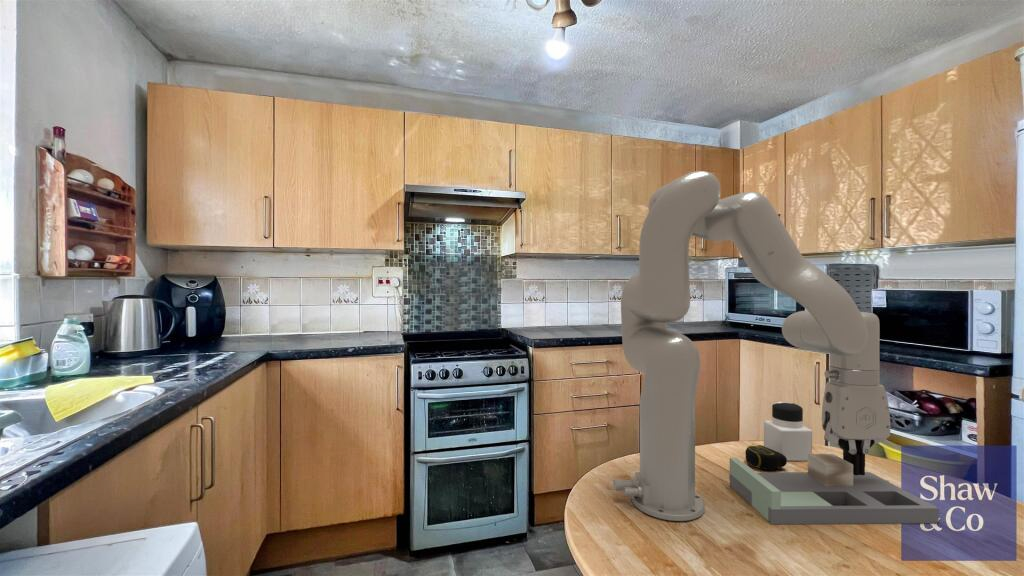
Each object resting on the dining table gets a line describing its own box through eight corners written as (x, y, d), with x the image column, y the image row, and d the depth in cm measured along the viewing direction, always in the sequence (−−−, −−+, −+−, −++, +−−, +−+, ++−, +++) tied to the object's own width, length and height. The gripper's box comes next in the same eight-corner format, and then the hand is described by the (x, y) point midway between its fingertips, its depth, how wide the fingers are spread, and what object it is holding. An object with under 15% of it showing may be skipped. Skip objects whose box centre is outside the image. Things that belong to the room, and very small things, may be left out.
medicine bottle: (812, 461, 99) (813, 408, 98) (780, 461, 99) (781, 408, 98) (792, 449, 106) (793, 399, 106) (763, 449, 106) (763, 399, 106)
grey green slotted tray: (771, 524, 73) (771, 491, 73) (729, 485, 87) (729, 457, 87) (938, 523, 73) (939, 490, 73) (869, 484, 87) (869, 457, 87)
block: (826, 486, 81) (826, 464, 81) (808, 474, 86) (808, 454, 86) (853, 486, 81) (853, 464, 81) (833, 474, 86) (833, 453, 86)
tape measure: (788, 471, 94) (788, 453, 94) (764, 475, 92) (764, 457, 92) (761, 458, 101) (761, 442, 100) (738, 462, 98) (738, 446, 98)
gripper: (829, 381, 80) (829, 481, 80) (911, 380, 80) (910, 480, 80) (801, 373, 87) (801, 464, 87) (876, 372, 87) (876, 463, 87)
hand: (853, 472), depth 84 cm, fingers closed
